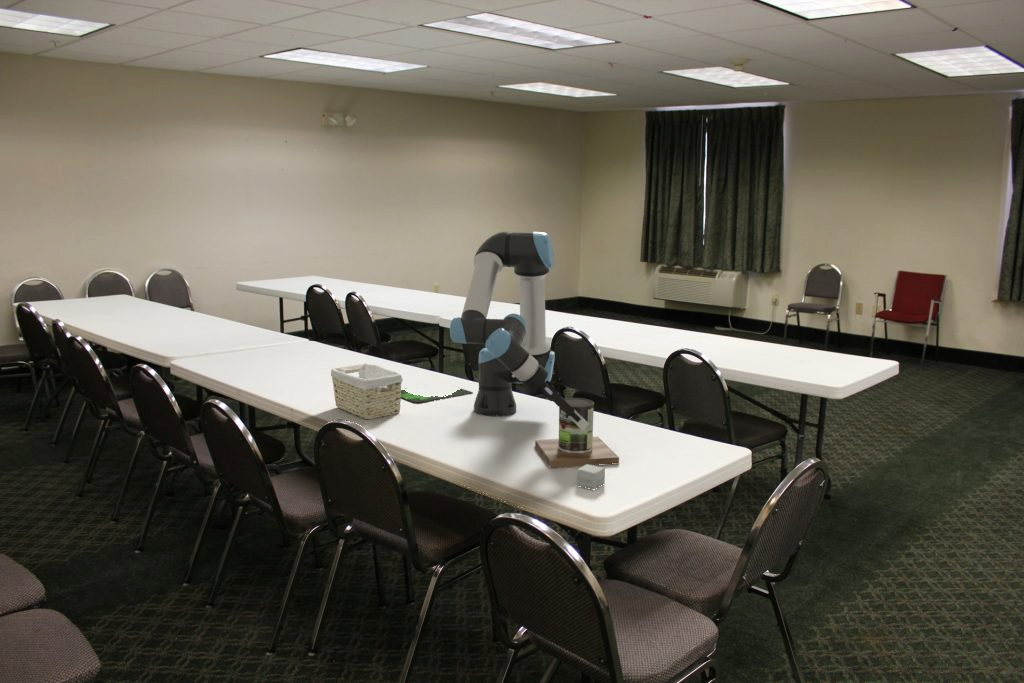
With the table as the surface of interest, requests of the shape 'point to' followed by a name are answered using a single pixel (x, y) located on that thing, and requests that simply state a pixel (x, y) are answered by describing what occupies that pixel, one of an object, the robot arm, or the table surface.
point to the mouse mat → (426, 399)
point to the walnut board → (564, 459)
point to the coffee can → (576, 427)
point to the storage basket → (367, 390)
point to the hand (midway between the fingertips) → (579, 420)
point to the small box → (590, 476)
